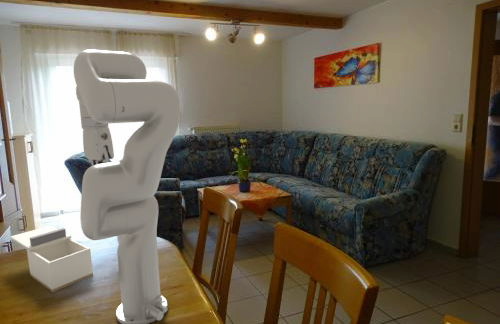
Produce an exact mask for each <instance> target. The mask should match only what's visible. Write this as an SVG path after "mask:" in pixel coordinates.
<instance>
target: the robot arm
mask: <svg viewBox="0 0 500 324" xmlns="http://www.w3.org/2000/svg"><path fill="white" fill-rule="evenodd" d="M73 77H74V81H75V85H76V87H75V94H76V98H77V99H76V100H77V101H78V104H79V113H80V114H79V116H80V124H81V129H82V145H83V152H84V157H85V158H86V159H87V160H88V162H89V163H90V164H91V166H90V167H88V168H87V169H86V170H85V171H84V174H83V176H82V184H81V198H80V200H81V201H80V217H79V218H80V228H81V230H82V233H83V235H84V236H85V237H86V238H87V239H89V240H91V241H100V240H104V239H105V240H106V239H110V238H113V237H117V236H118V235H122V234H124V235H123V237H122V238H121V240H120V243H119V244H118V245H117V246H118V247H117V251H116V253H117V256H116V257H117V265H118V276H119V277H118V278H119V287H120V296H121V297H120V299H121V304H120V305H119V306H118V307H117V308H116V312H115V315H116V319H117V321H118V322H119V323H120V324H150V323H153V322H155V321H161V320H163V318H164V315H165V313H167V311H168V309H169V308H168V301H167V299H166V298H165V297H164V296H163V295H162V294H161V282H160V272H159V271H160V269H159V267H160V266H159V257H158V256H159V255H158V241H157V240H158V239H157V237H158V236H157V234H158V233H157V231H158V230H157V228H158V219H159V203H158V200H157V199H156V197H155V194H156V193H157V190H158V188H159V185H160V181H161V177H162V173H163V172H162V171H163V167H164V164H165V159H166V156H167V152H168V150H169V148H170V146H171V144H172V142H173V140H174V138H175V137H176V134H177V131H178V128H179V125H180V121H181V120H180V119H181V101H180V95H179V94H178V92H177V90H176V88H175V87H174V86H172V85H171V84H169V83H167V82H164V81H161V80H154V79H153V80H152V79H146V78H147V67H146V65H145V63H144V61H143V60H142V59H141V58H140V57H139V56H137V55H135V54H132V53H131V52H125V51H116V50H115V51H113V50H101V49H85V50H83V51H80V52H79V53H78V54H77V56H76V57H75V60H74V63H73ZM124 123H126V124H127V123H143V124H142V125H141V126H139V128H137V129H136V130H135V131H134V132H133V133H132V134H131V136H130V137H129V139H128V140H126V142H125V145H124V150H123V157H122V159H121V160H117V161H110V160H113V159H114V157H115V152H114V146H113V140H112V134H111V131H110V128H109V124H124Z"/></svg>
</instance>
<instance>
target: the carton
mask: <svg viewBox="0 0 500 324" xmlns="http://www.w3.org/2000/svg"><path fill="white" fill-rule="evenodd" d="M26 253H27V261H28V262H27V263H28V267H29V273H30V274H29V275H30V277H31V278H33V279H34V280H36V281H37V282H38V283H39V284H41V285H42V286H43V287H45V288H46V289H47V290H49V291H50V292H51V293H54V292H57V291H59V290H62V289H64V288H66V287H68V286H70V285H73V284H75V283H78V282H81V281H82V280H85V279H88V278H90V277H92V276H94V273H93V271H94V270H93V263H92V252H91V248H90V247H89V246H87V245H84V244H82V243H80V242H78V241H76V240H74V239H72V238H69V239H66V240H63V241H60V242H57V243H54V244H51V245H47V246H44V247H41V248H38V249H35V250H32V251H29V250H28V249H26Z"/></svg>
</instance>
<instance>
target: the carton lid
mask: <svg viewBox="0 0 500 324" xmlns="http://www.w3.org/2000/svg"><path fill="white" fill-rule="evenodd" d="M69 238H70V239H72V235H71V234H69V233H66V228H64V227H62V228H56V227H54V226H52V225H48V226H44V227H40V228H37V229H33V230H29V231H25V232H22V233H18V234H14V235H11V236H10V240H11V241H14V243H16V244H18V245H20V246H21V247H23V248H24V249H26V250H27V249H28V250H29V251H32V250H35V249H38V248H41V247H44V246H47V245H51V244H54V243H57V242H60V241H63V240H66V239H69Z"/></svg>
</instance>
